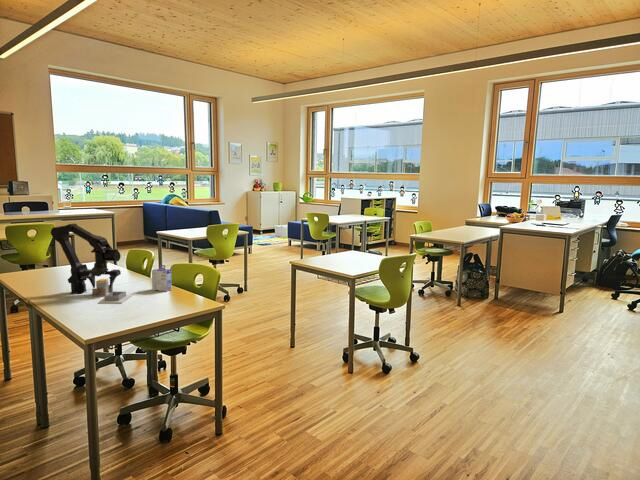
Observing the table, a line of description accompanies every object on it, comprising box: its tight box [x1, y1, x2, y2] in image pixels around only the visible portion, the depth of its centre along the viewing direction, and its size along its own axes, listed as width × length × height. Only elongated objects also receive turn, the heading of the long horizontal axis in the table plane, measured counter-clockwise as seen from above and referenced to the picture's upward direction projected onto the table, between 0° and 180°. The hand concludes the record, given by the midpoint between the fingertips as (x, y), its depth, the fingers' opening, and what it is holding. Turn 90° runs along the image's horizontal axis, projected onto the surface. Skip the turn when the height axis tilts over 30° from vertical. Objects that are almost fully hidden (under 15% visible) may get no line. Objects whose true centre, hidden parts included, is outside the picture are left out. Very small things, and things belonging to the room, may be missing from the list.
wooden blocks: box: [91, 284, 114, 297], centre depth 247 cm, size 7×10×4 cm
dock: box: [97, 291, 133, 305], centre depth 235 cm, size 12×14×3 cm
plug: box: [95, 278, 110, 295], centre depth 246 cm, size 4×6×8 cm, turn 2°
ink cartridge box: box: [151, 264, 173, 292], centre depth 256 cm, size 10×6×14 cm, turn 78°
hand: (102, 287), depth 247 cm, fingers open, 9 cm apart
